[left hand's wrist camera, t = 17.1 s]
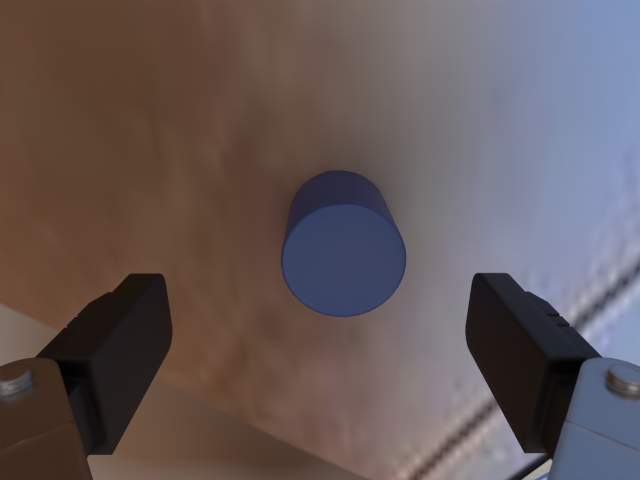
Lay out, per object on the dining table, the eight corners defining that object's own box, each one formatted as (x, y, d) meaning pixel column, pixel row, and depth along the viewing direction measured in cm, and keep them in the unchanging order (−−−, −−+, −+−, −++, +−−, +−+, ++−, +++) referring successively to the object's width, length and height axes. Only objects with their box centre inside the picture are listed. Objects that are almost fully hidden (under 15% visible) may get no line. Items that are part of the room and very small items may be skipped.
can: (392, 173, 17) (414, 207, 13) (381, 264, 19) (398, 320, 15) (291, 167, 17) (282, 199, 13) (288, 259, 19) (279, 314, 15)
